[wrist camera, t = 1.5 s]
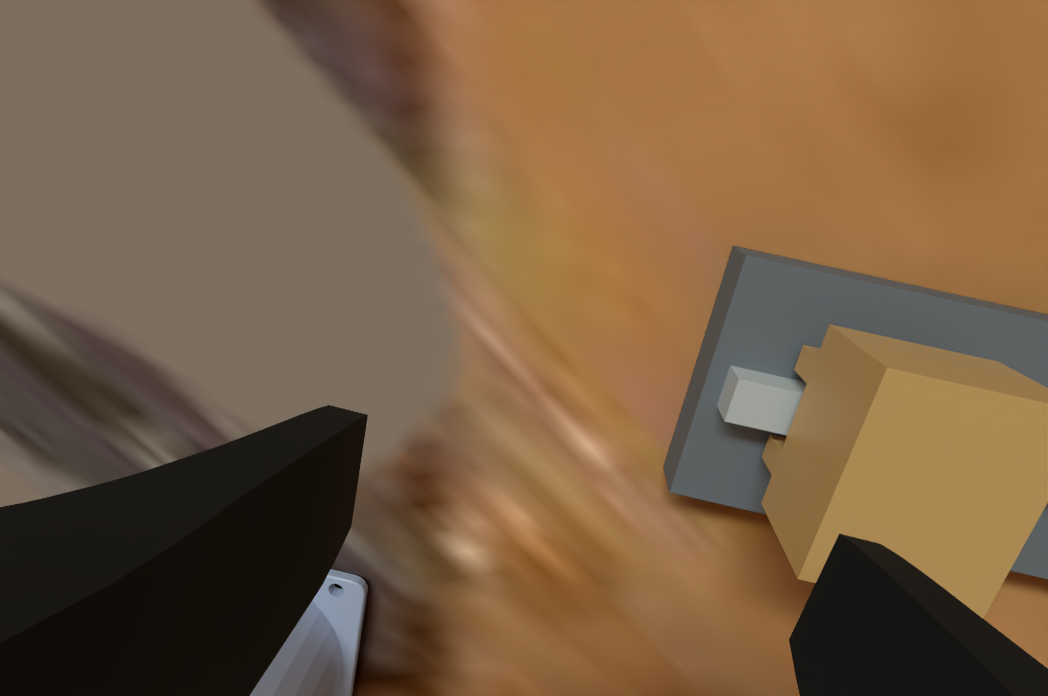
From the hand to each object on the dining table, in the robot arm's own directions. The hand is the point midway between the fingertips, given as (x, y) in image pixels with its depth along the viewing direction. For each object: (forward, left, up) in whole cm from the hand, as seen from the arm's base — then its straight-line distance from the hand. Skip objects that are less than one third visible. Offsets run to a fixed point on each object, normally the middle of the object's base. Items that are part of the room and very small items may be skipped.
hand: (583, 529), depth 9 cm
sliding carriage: (+7, 0, -8) cm, 11 cm away
